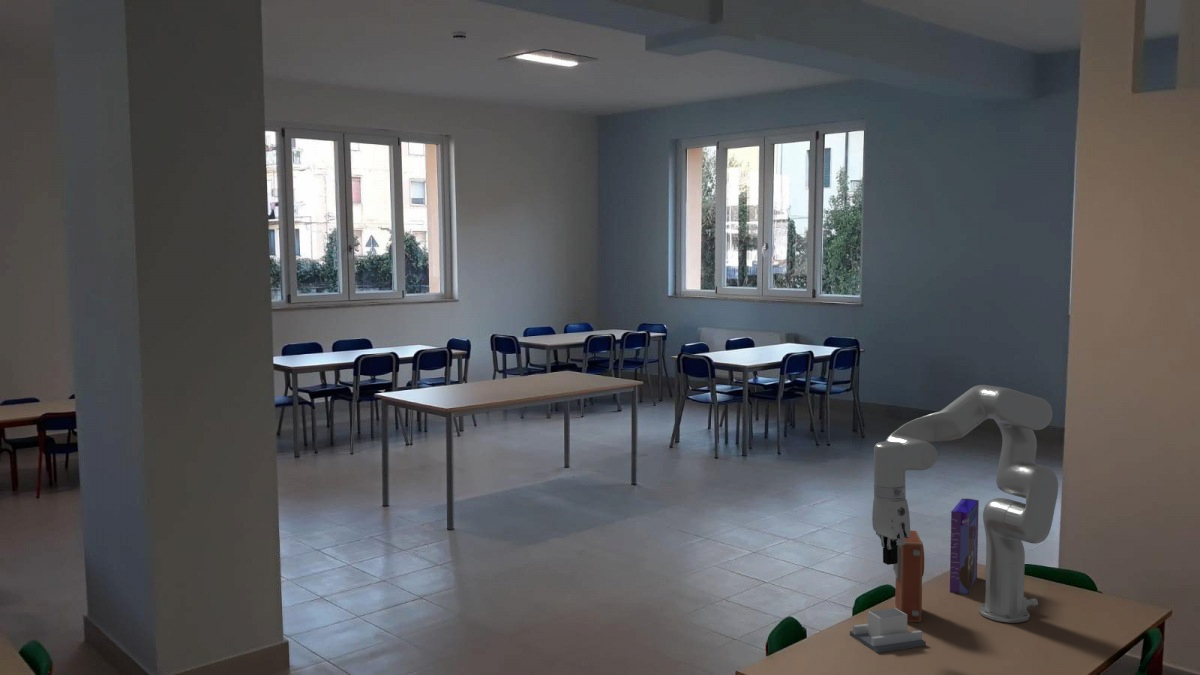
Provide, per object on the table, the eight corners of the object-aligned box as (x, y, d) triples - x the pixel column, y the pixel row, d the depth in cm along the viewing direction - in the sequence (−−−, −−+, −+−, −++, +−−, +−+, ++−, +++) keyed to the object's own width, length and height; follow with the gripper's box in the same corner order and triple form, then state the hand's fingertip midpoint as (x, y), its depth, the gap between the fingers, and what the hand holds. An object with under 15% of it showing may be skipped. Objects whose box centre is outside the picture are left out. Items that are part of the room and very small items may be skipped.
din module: (895, 630, 239) (895, 607, 239) (906, 637, 235) (907, 614, 234) (867, 634, 237) (868, 611, 237) (879, 641, 232) (879, 618, 232)
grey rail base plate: (896, 628, 244) (896, 617, 243) (925, 645, 232) (925, 633, 232) (849, 634, 239) (849, 623, 239) (877, 652, 228) (877, 641, 228)
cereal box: (967, 594, 268) (968, 512, 266) (949, 592, 271) (951, 510, 269) (977, 577, 283) (978, 499, 281) (960, 575, 285) (961, 497, 284)
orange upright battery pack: (917, 604, 261) (924, 624, 246) (891, 603, 262) (897, 622, 247) (918, 529, 259) (926, 545, 244) (892, 528, 260) (898, 543, 246)
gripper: (921, 496, 227) (921, 570, 229) (885, 483, 241) (885, 552, 243) (894, 500, 225) (895, 574, 226) (859, 486, 239) (860, 556, 241)
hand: (890, 563), depth 235 cm, fingers closed
